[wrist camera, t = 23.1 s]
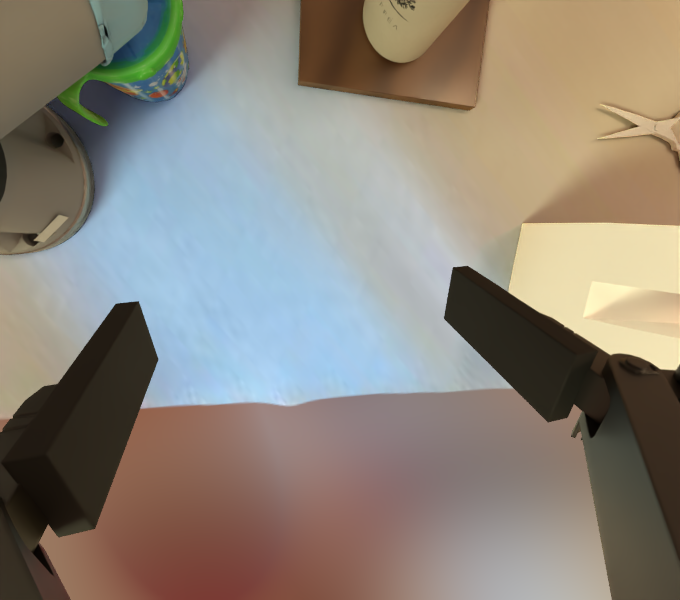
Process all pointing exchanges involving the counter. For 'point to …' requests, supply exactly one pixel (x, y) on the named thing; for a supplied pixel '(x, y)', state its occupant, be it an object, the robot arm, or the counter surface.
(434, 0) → the travel mug
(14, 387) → the counter surface
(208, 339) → the counter surface
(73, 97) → the snack cup
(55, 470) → the robot arm
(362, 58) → the walnut board
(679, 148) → the scissors
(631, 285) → the white slotted tapered block
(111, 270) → the counter surface
